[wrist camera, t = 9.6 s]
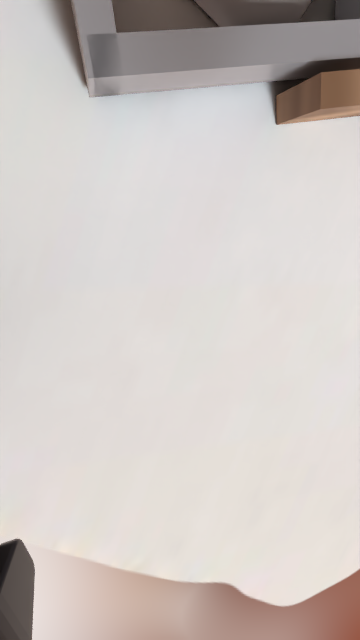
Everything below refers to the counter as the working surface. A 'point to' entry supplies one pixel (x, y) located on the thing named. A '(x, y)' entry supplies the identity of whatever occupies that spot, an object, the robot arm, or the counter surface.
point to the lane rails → (321, 98)
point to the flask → (254, 11)
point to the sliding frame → (210, 51)
